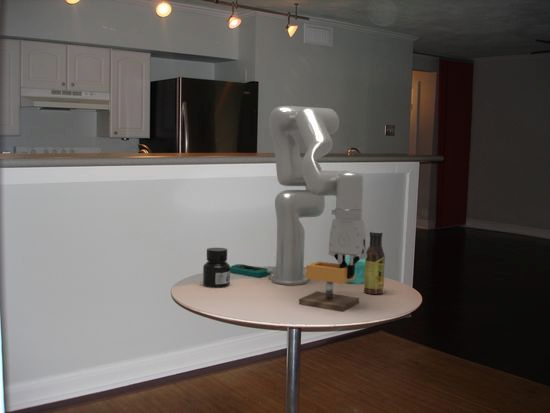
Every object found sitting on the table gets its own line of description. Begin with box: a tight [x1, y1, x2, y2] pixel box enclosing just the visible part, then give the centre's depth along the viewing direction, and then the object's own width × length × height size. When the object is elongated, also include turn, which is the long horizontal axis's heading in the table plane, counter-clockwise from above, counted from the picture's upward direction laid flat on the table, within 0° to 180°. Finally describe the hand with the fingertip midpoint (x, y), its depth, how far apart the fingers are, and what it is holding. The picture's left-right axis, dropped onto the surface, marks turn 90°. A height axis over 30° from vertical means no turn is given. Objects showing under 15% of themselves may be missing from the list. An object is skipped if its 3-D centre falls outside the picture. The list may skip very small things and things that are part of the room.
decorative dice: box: [345, 256, 366, 285], centre depth 210 cm, size 8×8×8 cm
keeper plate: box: [298, 281, 360, 313], centre depth 179 cm, size 14×12×9 cm
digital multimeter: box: [230, 263, 272, 279], centre depth 218 cm, size 7×15×3 cm, turn 55°
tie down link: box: [305, 261, 355, 285], centre depth 178 cm, size 12×8×4 cm, turn 60°
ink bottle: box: [202, 247, 231, 288], centre depth 199 cm, size 10×9×12 cm
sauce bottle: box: [363, 230, 386, 295], centre depth 193 cm, size 6×6×20 cm
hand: (346, 277), depth 176 cm, fingers closed on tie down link, 1 cm apart
